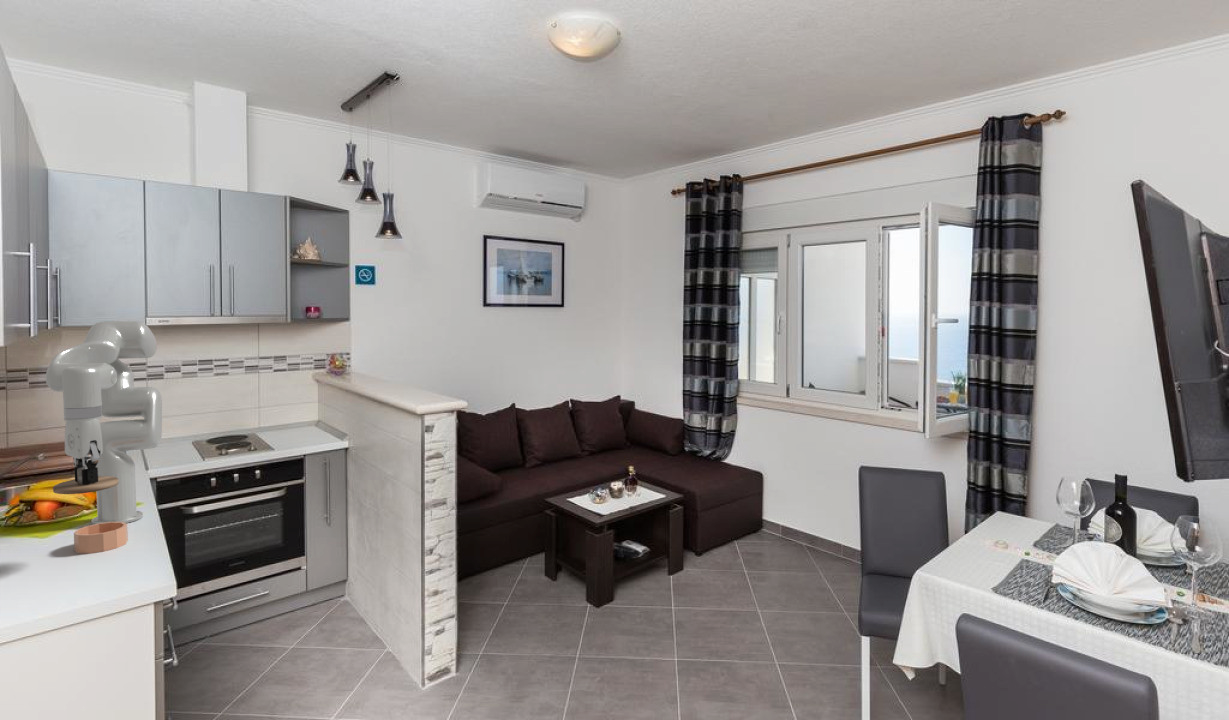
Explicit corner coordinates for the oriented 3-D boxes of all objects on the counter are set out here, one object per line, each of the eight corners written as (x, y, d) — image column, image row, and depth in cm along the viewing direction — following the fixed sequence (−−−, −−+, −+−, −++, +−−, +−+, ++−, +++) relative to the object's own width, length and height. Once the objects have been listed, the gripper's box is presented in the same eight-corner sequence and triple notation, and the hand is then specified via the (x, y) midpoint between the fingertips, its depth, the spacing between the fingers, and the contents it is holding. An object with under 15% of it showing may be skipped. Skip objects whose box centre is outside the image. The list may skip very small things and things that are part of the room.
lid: (44, 488, 157) (43, 469, 156) (105, 477, 168) (105, 459, 168) (65, 497, 150) (64, 477, 150) (127, 484, 162) (127, 466, 161)
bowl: (81, 542, 171) (80, 525, 170) (130, 536, 176) (130, 519, 176) (70, 556, 161) (69, 537, 161) (122, 548, 167) (121, 531, 166)
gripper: (51, 412, 158) (55, 480, 160) (79, 418, 150) (82, 490, 152) (87, 408, 165) (90, 474, 166) (115, 414, 157) (118, 483, 158)
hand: (86, 481), depth 159 cm, fingers closed on lid, 3 cm apart
